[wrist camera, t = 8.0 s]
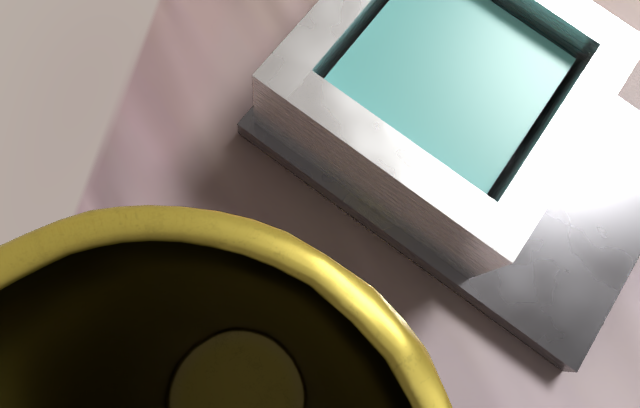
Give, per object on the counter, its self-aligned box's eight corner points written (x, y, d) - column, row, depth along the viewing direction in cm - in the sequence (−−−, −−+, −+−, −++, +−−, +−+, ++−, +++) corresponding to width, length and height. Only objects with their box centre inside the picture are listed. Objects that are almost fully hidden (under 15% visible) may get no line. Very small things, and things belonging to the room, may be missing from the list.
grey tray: (680, 157, 25) (777, 112, 20) (563, 371, 22) (646, 377, 17) (389, -42, 27) (416, -128, 22) (238, 133, 23) (231, 77, 19)
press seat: (563, 71, 22) (576, 58, 21) (473, 205, 20) (483, 198, 19) (419, -27, 23) (425, -43, 22) (317, 94, 21) (320, 82, 20)
